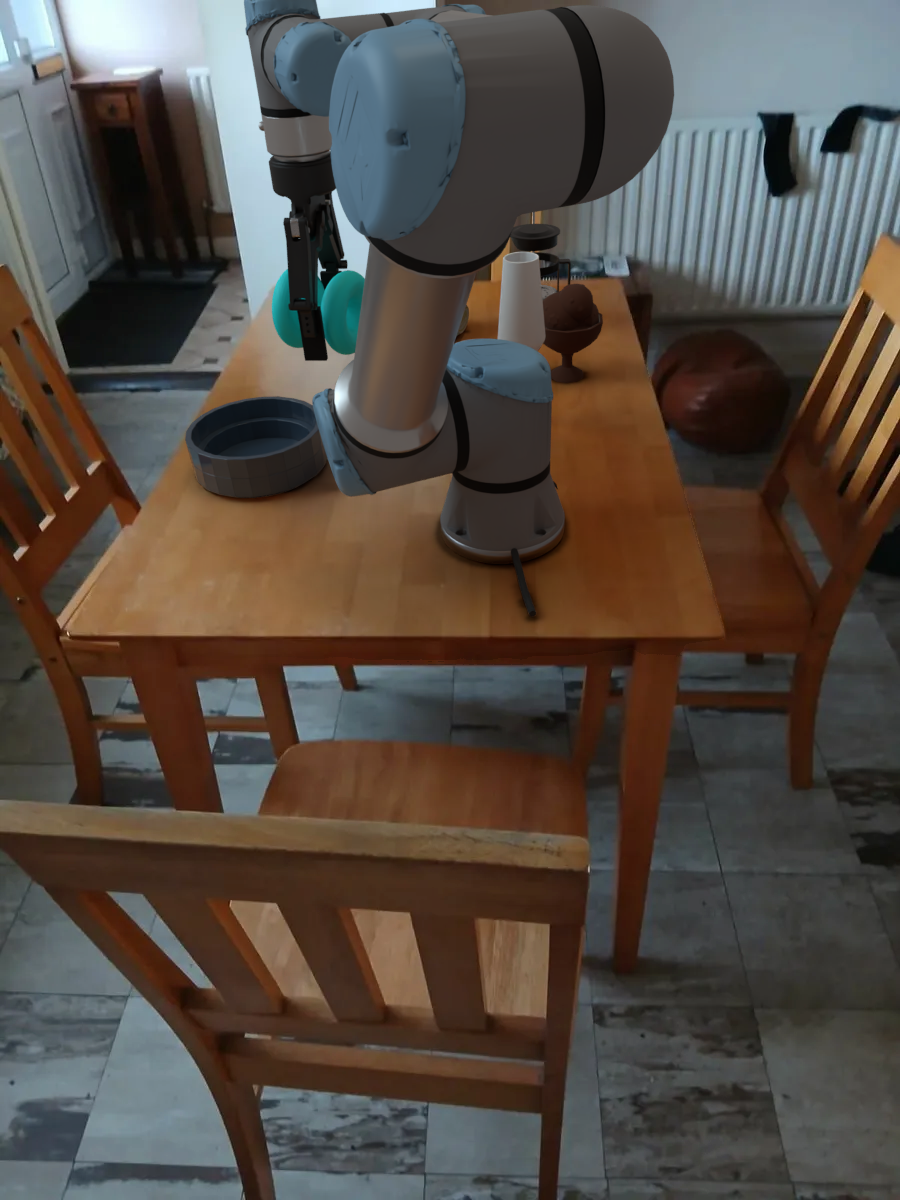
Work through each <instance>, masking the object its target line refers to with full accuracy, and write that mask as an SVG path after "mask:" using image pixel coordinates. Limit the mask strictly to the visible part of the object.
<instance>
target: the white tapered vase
mask: <svg viewBox="0 0 900 1200" xmlns="http://www.w3.org/2000/svg"><path fill="white" fill-rule="evenodd" d="M531 252H532V251H515V252H510V253H507V254H505V255H503V257H502V269H501V281H500V283H501V284H500V297H499V312H498V327H497V339H501V340H507V341H512V342H516V343H520V344H523V345H526V346H528V347H531V348H533V349H535V350H536V351H538V352H539V350H540V349H541V348H542V346H543V345H544V344H543V342H544V341H545V324H544V313H543V301H542V289H541V285H542V279H541V276H540V268H541V267H540V260H539V256H538V255H537V254H535V253H531Z"/></svg>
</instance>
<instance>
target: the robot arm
mask: <svg viewBox="0 0 900 1200" xmlns="http://www.w3.org/2000/svg"><path fill="white" fill-rule="evenodd" d="M243 7H244V8H243V9H244V16H245V24H246V25H245V35H246V36H247V39H248V43H249V49H250V55H251V61H252V66H253V72H254V73H253V74H254V78H255V85H256V90H257V96H258V102H259V109H260V114H261V121H259V123H258V129H259V130H260V131H261V132H264V139H265V145H266V151H267V153H269V154H270V155H271V156H270V158H269V160H268V166H269V173H270V179H271V184H272V185H271V186H272V190H273V192H274V193H275V195H277V196H279V197H282V198H284V197H285V198H287V199H288V200H289V201H290V203H291V204H290V208H291V210H290V211H289V213H288V217H284V218H283V222H282V225H283V229H284V235H285V241H286V245H285V246H286V260H287V269H288V280H289V297H290V304H288V306H289V310H292V311H297V313H298V319H299V325H300V332H301V338H302V344H303V348H302V349H303V355H304V361H307V362H327V361H328V359H329V357H328V349H327V341H326V339H325V334H324V327H323V320H322V313H321V306H318V303H317V302H318V277H319V276H320V277H319V278H320V280H321V282H322V284H323V287H324V290H325V289H326V287H327V285H328V284H329V282H330V281H331V279H332V278H333V277H334V276H335V275H337V274H338V273H340V272H342V271H343V270H348V260H347V259H344V258H345V252H344V247H343V242H342V239H341V233H340V229H339V225H338V221H337V220H338V219H337V216H336V212H335V207H334V201H333V192H334V191H335V190H336V194H337V197H338V200H339V204H340V205H341V208H342V210H343V212H344V215H345V217H346V218H347V221H348V222H349V223H350V225H351V227H353V229H354V230H355V231H357V232H358V233H359V234H360V235H363V236H364V238H365V239H366V241H367V242H368V243H369V245H368V253H367V261H366V268H365V274H364V278H365V282H364V289H363V296H362V304H361V311H360V319H359V326H358V333H357V341H356V348H355V353H354V357H353V359H352V360H351V361H350V362H348V363H347V365H346V366H345V367H344V368H343V369H342V370H341V372H340V373H339V376H338V378H337V380H336V382H335V386H334V389H332V388H325V389H324V390H322V391H320V392H317V393H315V394H314V395H313V397H312V400H311V401H312V404H311V405H313V409H314V413H315V417H316V421H317V425H318V428H319V432H320V435H321V439H322V442H323V445H324V449H325V452H326V455H327V462H328V464H329V467H330V470H331V472H332V476H333V478H334V481H335V484H336V486H337V488H338V490H339V492H341V493H342V494H343V495H344V496H347V497H351V498H353V497H359V496H364V495H365V496H366V495H370V496H373V495H376V494H377V493H378V492H383V491H386V490H389V489H394V488H397V487H398V488H399V487H401V486H406V485H410V484H413V483H417V482H421V481H426V480H430V479H434V478H438V477H442V476H447V475H451V480H450V483H449V486H448V489H447V493H446V496H445V499H444V503H443V507H442V509H441V512H440V517H439V520H440V534H441V538H442V540H443V542H444V544H445V545H446V546H447V547H448V548H449V549H450V550H451V551H453V552H454V553H455V554H457V555H459V556H460V557H463V558H465V559H468V560H471V561H475V562H479V563H486V564H494V565H506V564H507V565H509V564H513V567H514V571H515V575H516V579H517V582H518V587H519V590H520V593H521V596H522V599H523V602H524V605H525V607H526V610H527V614H528V616H529V617H531V618H534V617H536V616H537V611H536V608H535V605H534V602H533V599H532V596H531V593H530V590H529V587H528V583H527V580H526V576H525V573H524V568H523V565H522V563H523V562H527V561H530V560H534V559H537V558H539V557H541V556H543V555H545V554H547V553H549V552H551V551H552V550H553V549H554V548H555V547H557V546H558V544H559V543H560V542H561V540H562V539H563V536H564V533H565V519H566V517H565V515H566V514H565V510H564V508H563V504H562V502H561V499H560V496H559V493H558V491H557V490H559V487H558V485H557V483H556V482H555V480H554V479H553V477H552V474H551V473H552V472H551V458H552V457H551V455H552V446H551V445H552V411H553V409H552V405H553V400H554V392H553V386H552V385H553V384H552V379H551V371H552V369H551V366H550V363H549V361H548V360H547V358H546V357H545V356H544V355H543V354H542V353H541V352H539V350H538V351H536V350H535V349H533V348H531V347H528V346H526V345H523V344H520V343H516V342H512V341H507V340H501V339H498V338H472V339H471V338H469V339H464V340H461V341H458V342H456V339H457V337H458V336H457V333H458V329H459V326H460V323H461V320H462V317H463V314H464V311H465V307H466V305H467V304H468V301H469V298H470V294H471V292H472V289H473V285H474V283H475V279H476V276H477V273H479V272H481V271H482V270H485V268H488V267H489V266H490V265H491V264H493V263H494V262H495V261H496V260H497V259H498V258H499V257H500V256H501V255H502V254H503V252H504V250H505V249H506V247H507V245H508V243H509V240H510V239H511V237H510V235H511V232H512V229H513V227H515V224H516V221H517V219H518V217H520V216H521V215H526V214H531V213H532V214H533V212H535V213H538V212H543V211H547V210H548V211H549V210H554V209H559V208H565V207H570V206H576V205H581V204H587V203H590V202H594V201H596V200H599V199H602V198H604V197H606V196H608V195H611V194H613V193H614V192H616V191H617V190H619V189H621V188H622V187H624V186H625V185H627V184H628V183H629V182H631V181H632V180H633V179H634V178H635V177H636V176H638V174H640V172H641V171H642V170H644V169H645V168H646V166H647V165H648V164H649V162H650V161H651V159H652V158H653V156H654V155H655V154H656V152H657V151H658V150H659V148H660V146H661V143H662V142H663V139H664V137H665V136H666V133H667V131H668V129H669V124H670V122H671V119H672V115H673V107H674V101H675V81H674V74H673V69H672V65H671V60H670V57H669V55H668V52H667V50H666V49H665V47H664V45H663V43H662V41H661V39H660V38H659V36H657V34H656V33H655V32H654V31H653V29H651V27H649V25H648V24H646V23H645V22H644V21H642V20H641V19H639V18H637V17H636V16H634V15H632V14H630V13H629V12H626V11H623V10H620V9H616V8H613V7H608V6H601V5H589V4H586V5H584V4H582V5H581V4H579V5H570V6H569V5H567V6H560V7H555V8H548V9H536V10H529V11H520V12H511V13H505V14H495V15H491V14H487V13H486V11H485V10H484V9H483V8H482V7H481V6H479V5H477V4H459V3H450V4H448V3H447V4H444V5H441V6H437V7H425V8H417V9H409V10H400V11H392V12H379V13H366V14H357V15H347V16H346V15H345V16H337V17H327V18H325V17H324V18H322V17H321V15H320V13H319V7H318V3H317V0H243ZM319 264H320V266H321V269H322V270H320V271H319ZM301 298H305V299H301Z"/></svg>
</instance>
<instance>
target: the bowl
mask: <svg viewBox="0 0 900 1200" xmlns="http://www.w3.org/2000/svg"><path fill="white" fill-rule="evenodd" d="M184 440H185V444H186V447H187V448H186V449H187V452H188V455H189V460H190V463H191V467H192V470H193V475H194V478H195V479H196V481H197V483H198V485H200V486H201V487H203V488H204V489H205V490H207V491H209V492H211V493H214V494H217V495H220V496H224V497H230V498H237V499H258V498H266V497H271V496H276V495H280V494H283V493H286V492H289V491H293V490H295V489H296V488H299V487H300V486H302V485H305V483H307V482H309V481H310V480H312V479H313V478H315V477H316V476H317V475H318V474H319V473H320V472H321V471H322V470H323V469H324V468H325V466H326V464H327V462H328V458H327V455H326V452H325V449H324V445H323V442H322V439H321V435H320V432H319V428H318V425H317V421H316V417H315V413H314V409H313V404H311V403H309V402H308V401H305V400H301V399H298V398H293V397H288V396H276V395H275V396H257V397H249V398H248V397H247V398H243V399H238V400H235V401H231V402H228V403H227V402H226V403H224V404H221V405H219V406H217V407H214V408H212V409H210V410H208V411H206V412H204V413H202V414H200V415H199V416H198V417H197V418H196V419H195V420H193V421H192V422H191V423H190V425H189V427H187V429H186V430H185V438H184Z"/></svg>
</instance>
